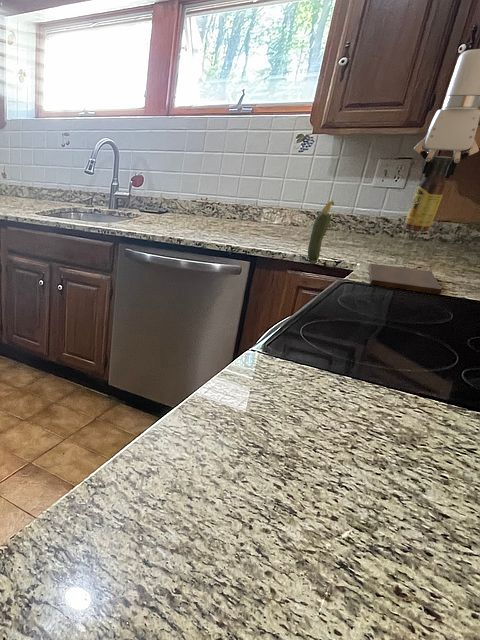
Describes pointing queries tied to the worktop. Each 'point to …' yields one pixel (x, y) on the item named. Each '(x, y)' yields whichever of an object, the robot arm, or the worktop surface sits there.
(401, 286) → the board
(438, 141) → the robot arm
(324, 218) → the vegetable
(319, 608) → the worktop surface
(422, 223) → the sauce bottle
